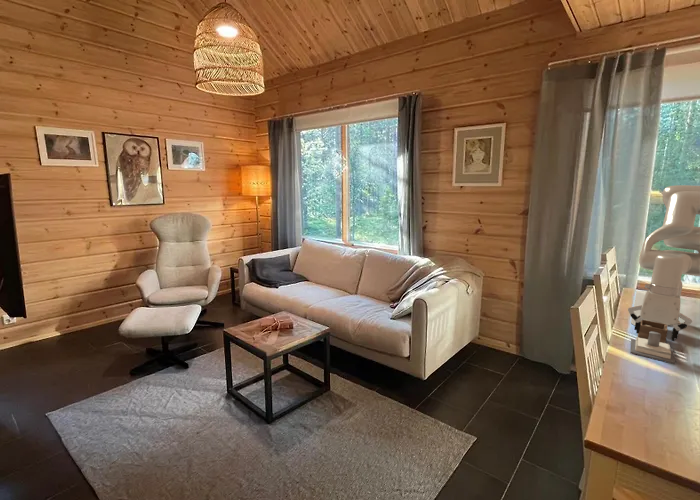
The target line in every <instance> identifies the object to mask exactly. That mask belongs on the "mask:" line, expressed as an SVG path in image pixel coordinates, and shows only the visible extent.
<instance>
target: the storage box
mask: <svg viewBox="0 0 700 500" xmlns="http://www.w3.org/2000/svg"><path fill="white" fill-rule="evenodd" d="M640 322H641V325H640V330H639V333H637V337H639V338H644V339H648V337H649V332H651V331H652V332H657V333H660V334H661V338H660V342H662V343H666V340H667V337H668V327H667V325H666V324H662V323H657V322H652V321H647V320H642V321H640Z"/></svg>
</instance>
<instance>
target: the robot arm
mask: <svg viewBox="0 0 700 500" xmlns="http://www.w3.org/2000/svg"><path fill="white" fill-rule="evenodd" d="M662 200H663V203H664V205H665V214H664V218H663V223H662V226H660V227H658V228H657V229H655V230H654V231H652V232H651V233H650V234H649V235H648V236H647V237H645V239H644V241H643V243H642V246H641V250H640V253H639V260H638V262H639V266H640V267H641V268H642V269H645V270H650V271H652V273H651V274H652V275H651V280H650V283H645V284H644V289H648V290H646V291H647V292H646V294H645V296H644V299H643V302H642V305H641V306H636V307H634V306H630V307H628V308H627V311H628V313H629V314H630V317H631V319H632V318H633V319H634V320H635V322H636V323H635V326H634V331H636V333H635V334H638V333H639V330H640V325H641V322H640V321H642V320H648V321H653V322H658V323H663V324H668V326H671V327H673V328H672V330H671V335H670V339H671V342H675V340H678V337H679V333H680V332H681V330H683V329H686V328H687V327H689V326H690V325H691V324H692V323H693V319H692V318H690V317H688V316H686V315H685V314H683V313H681V295H682V290H683V281H682V275H686V276H694V277H700V226H695V221H696V216H697V215H698V216H699V215H700V185H687V184H686V185H669V186H666V187H665V188H664V189H663V191H662ZM662 241H663V244H664V245H665V246H666V247H670V248H675V249H681V250H675V249H674V250H673V249H665V250H660V249H652V248H653V246H654V245H655V244H657V243H659V242H662ZM683 249H685V250H691V251H692V250H693V251H697V252H691V251H684V250H683ZM637 310H641V311H640V315H639V316H638V317H637V316H636V315H635V314H634V311H637ZM679 318H680V319H682V320H683V321H684V322H682V323H681V322H680V320H679Z"/></svg>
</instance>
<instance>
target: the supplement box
mask: <svg viewBox="0 0 700 500" xmlns="http://www.w3.org/2000/svg"><path fill="white" fill-rule="evenodd" d="M647 291H648V290H636V292H635V297H634V303H633V307H636V306H641V305H642V302H643V299H644V296H645V294H646V292H647ZM640 311H641V310H637V311H634V314H635V315H636V316H637V317H638V316H639V315H640ZM647 321H648V320H647ZM652 322H653V321H652ZM635 323H636V322H635V320H634V319H633V318H632V317H631V321H630V324H631V325H633V326H634V327H635ZM657 323H658V322H657ZM662 324H663V323H662ZM666 325H667V328H668V327H669V325H668V324H666Z"/></svg>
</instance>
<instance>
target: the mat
mask: <svg viewBox="0 0 700 500" xmlns="http://www.w3.org/2000/svg"><path fill="white" fill-rule="evenodd" d="M635 347H636V338H635V339H634V338H631V339H630V349H629V350H630V351H629V352H630V354H631V353H632V355H636V354H637V355H636V356H640V355H641V356H640V357H644V356H645V358H648V357H649V359H652V358H653V359H652V360H656V359H658V360H657V361H660V360H663V361H662V362H664V361H666V362H665V363H668V362H669V364H672V365H676V358H675V353H674V348H673V347H670V349H671V358H670V359H668V358H664V357H660V356H656V355H651V354H647V353H643V352H639V351H635Z"/></svg>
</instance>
